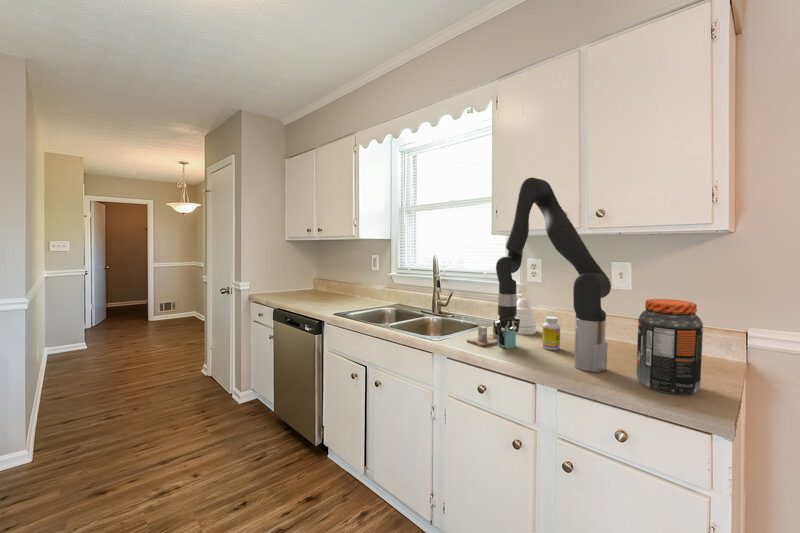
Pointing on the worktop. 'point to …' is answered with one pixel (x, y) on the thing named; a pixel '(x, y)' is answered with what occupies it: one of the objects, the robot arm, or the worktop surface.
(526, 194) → the robot arm
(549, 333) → the supplement bottle
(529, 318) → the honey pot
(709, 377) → the worktop surface
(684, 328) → the supplement tub
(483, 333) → the stand
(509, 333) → the teal block
